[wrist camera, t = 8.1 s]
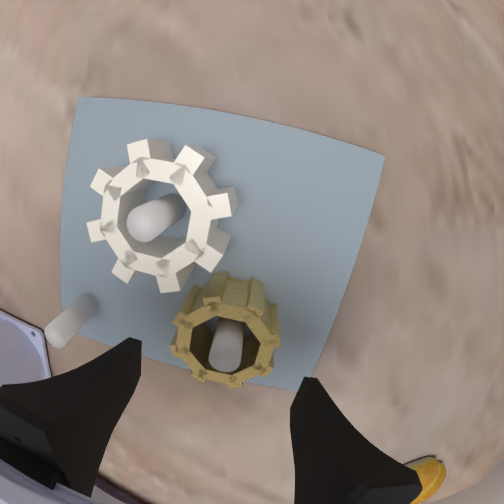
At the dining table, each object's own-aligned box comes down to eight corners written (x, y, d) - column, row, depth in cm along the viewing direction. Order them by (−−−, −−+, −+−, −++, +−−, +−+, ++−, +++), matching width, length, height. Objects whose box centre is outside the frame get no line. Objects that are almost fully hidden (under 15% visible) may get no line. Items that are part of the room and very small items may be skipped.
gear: (112, 251, 17) (83, 271, 14) (128, 135, 15) (98, 132, 12) (222, 279, 17) (212, 306, 14) (249, 157, 15) (245, 156, 12)
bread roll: (425, 447, 24) (436, 472, 20) (447, 464, 26) (457, 486, 22) (364, 483, 26) (370, 509, 22) (395, 496, 28) (401, 518, 24)
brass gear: (180, 341, 19) (166, 373, 16) (192, 262, 17) (176, 285, 14) (264, 359, 19) (264, 395, 16) (287, 283, 17) (292, 312, 14)
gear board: (71, 320, 20) (30, 361, 15) (88, 99, 16) (32, 86, 10) (302, 381, 21) (310, 440, 15) (378, 155, 16) (424, 156, 11)
